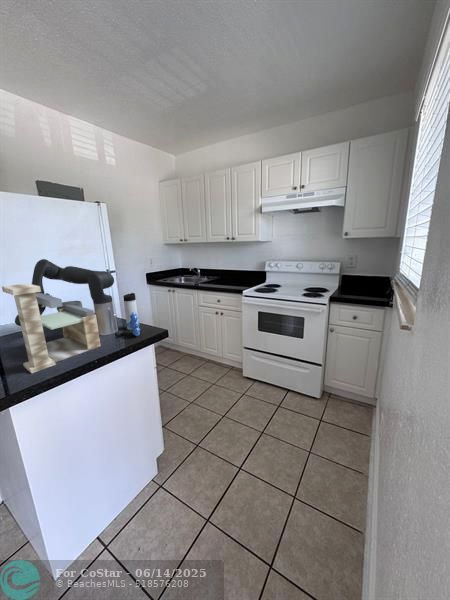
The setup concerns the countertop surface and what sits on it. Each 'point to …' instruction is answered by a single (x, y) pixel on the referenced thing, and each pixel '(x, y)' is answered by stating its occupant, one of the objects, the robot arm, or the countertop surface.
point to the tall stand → (31, 326)
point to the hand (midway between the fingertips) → (41, 295)
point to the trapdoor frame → (75, 339)
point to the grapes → (134, 324)
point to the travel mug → (130, 306)
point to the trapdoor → (66, 317)
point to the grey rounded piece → (77, 303)
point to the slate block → (48, 300)
